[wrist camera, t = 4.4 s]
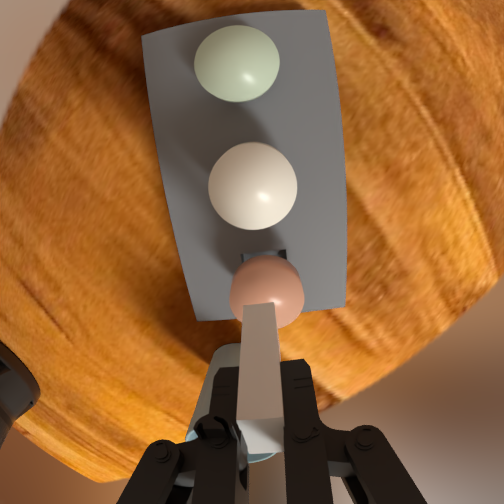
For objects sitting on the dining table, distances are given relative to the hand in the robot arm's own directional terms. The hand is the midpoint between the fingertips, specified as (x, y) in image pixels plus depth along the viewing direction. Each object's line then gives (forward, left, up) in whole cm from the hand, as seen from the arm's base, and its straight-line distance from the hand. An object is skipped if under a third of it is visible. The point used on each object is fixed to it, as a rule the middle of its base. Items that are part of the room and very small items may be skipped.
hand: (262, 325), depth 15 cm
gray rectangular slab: (0, +6, -10) cm, 12 cm away
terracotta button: (0, -1, -7) cm, 7 cm away
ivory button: (0, +6, -7) cm, 9 cm away
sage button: (0, +13, -9) cm, 16 cm away
